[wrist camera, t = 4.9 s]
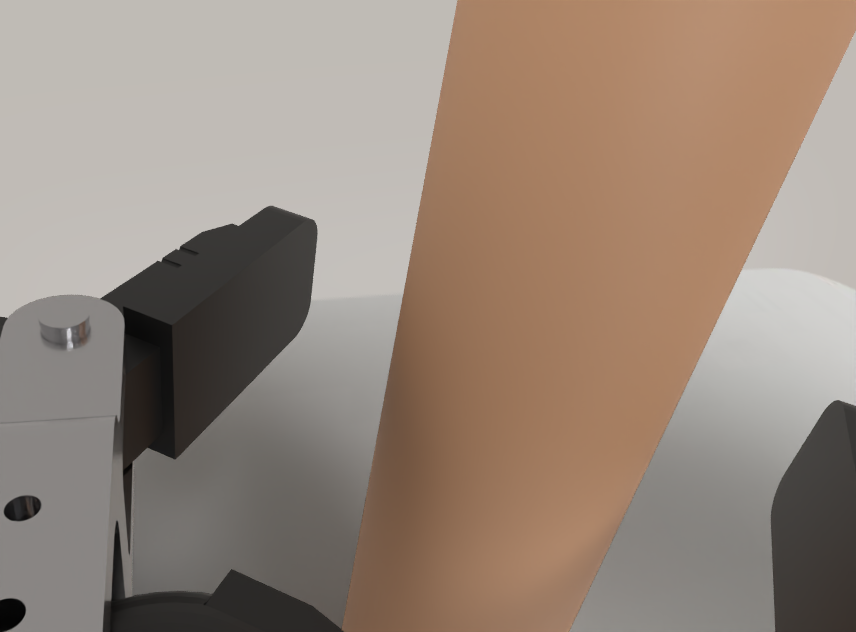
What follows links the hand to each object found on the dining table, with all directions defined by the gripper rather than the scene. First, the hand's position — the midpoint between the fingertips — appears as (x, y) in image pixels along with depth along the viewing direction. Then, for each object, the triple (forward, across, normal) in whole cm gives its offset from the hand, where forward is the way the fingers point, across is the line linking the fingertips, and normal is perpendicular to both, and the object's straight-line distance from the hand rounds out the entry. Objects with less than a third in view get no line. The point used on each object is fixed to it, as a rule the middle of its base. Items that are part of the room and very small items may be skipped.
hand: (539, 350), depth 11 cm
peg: (-1, 0, +10) cm, 10 cm away
